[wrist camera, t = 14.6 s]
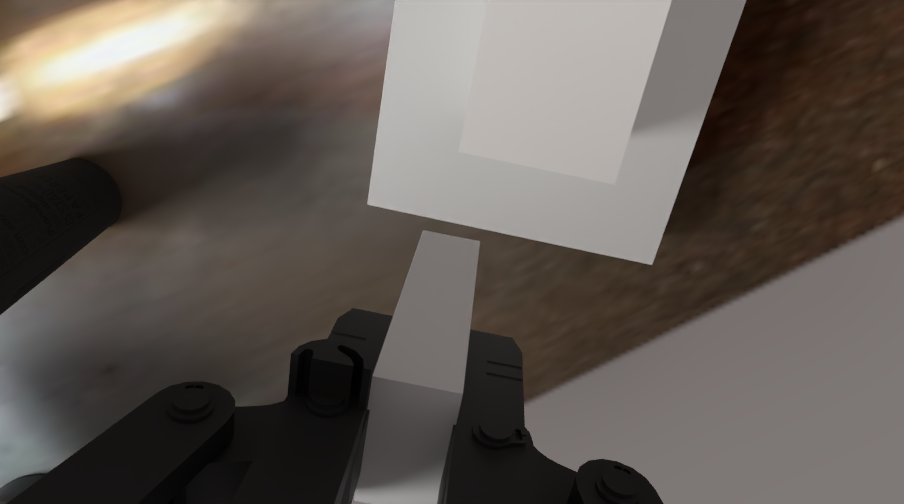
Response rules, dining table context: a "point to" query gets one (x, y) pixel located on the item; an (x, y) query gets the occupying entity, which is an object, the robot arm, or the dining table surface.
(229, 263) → the dining table surface
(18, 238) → the drinking cup
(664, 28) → the socket
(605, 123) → the plug
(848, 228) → the dining table surface
